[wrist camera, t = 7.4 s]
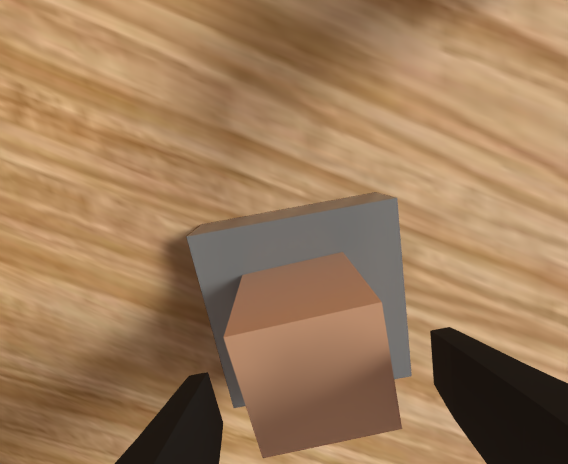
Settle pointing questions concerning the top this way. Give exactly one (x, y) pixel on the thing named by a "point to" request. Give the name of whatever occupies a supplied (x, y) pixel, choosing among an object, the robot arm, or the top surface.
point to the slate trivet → (299, 247)
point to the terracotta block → (311, 355)
